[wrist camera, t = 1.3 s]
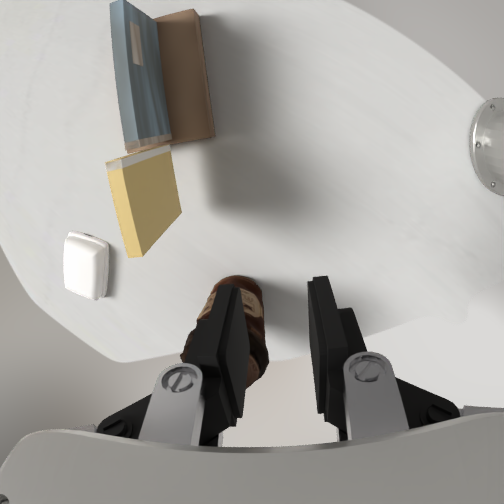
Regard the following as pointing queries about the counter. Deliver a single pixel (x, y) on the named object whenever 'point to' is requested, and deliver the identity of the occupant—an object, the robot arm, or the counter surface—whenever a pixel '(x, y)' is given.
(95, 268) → the soap
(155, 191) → the yellow flat slab
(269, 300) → the counter surface
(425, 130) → the counter surface
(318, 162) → the counter surface
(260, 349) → the coffee cup
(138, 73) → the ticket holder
